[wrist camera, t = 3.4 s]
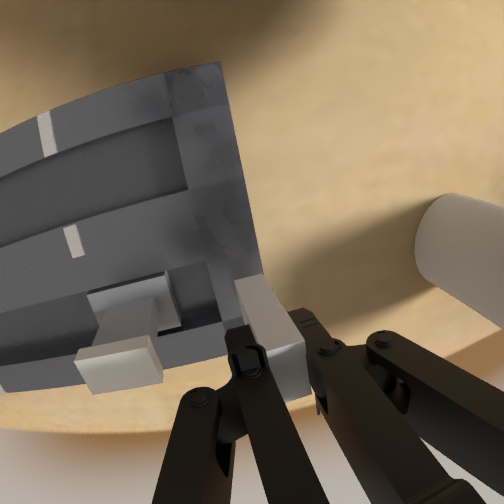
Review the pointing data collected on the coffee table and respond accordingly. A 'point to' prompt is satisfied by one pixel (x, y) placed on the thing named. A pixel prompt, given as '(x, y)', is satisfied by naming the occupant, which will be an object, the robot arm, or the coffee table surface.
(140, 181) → the console board
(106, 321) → the cream fader
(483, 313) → the grey solid cylinder
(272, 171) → the coffee table surface
